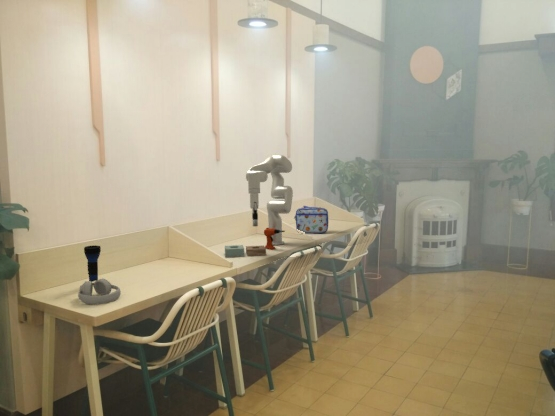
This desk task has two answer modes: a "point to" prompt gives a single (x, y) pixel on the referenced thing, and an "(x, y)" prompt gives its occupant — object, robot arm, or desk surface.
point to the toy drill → (270, 237)
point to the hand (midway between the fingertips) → (255, 218)
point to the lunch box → (312, 219)
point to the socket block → (255, 250)
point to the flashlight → (92, 261)
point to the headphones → (98, 292)
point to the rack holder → (234, 251)
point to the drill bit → (255, 221)
